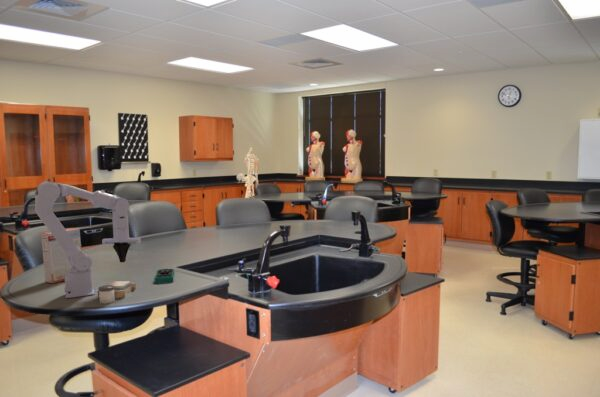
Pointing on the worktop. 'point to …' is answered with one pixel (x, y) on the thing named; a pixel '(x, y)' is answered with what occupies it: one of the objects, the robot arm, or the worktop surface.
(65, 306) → the worktop surface
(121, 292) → the display stand
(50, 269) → the cracker box
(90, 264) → the robot arm
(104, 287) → the jar
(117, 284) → the carton
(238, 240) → the worktop surface
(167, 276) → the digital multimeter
